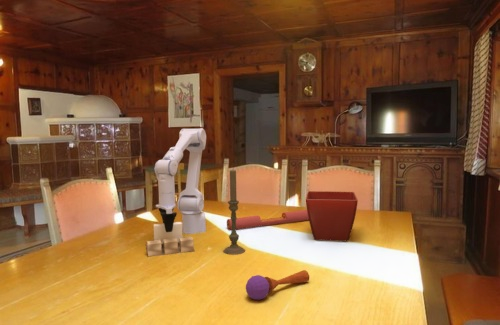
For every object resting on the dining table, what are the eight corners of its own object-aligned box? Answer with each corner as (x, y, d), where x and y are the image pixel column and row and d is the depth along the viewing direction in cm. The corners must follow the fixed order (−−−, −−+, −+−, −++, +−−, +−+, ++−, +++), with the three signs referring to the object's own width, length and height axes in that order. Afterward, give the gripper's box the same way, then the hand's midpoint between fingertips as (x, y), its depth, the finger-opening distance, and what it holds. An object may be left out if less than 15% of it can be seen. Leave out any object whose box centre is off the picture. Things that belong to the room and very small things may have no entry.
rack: (188, 242, 140) (188, 236, 140) (194, 253, 127) (194, 247, 127) (145, 247, 135) (145, 240, 135) (147, 259, 122) (147, 252, 122)
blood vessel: (230, 232, 155) (230, 220, 155) (226, 229, 160) (226, 217, 159) (313, 221, 172) (313, 210, 171) (307, 218, 176) (308, 208, 176)
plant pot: (307, 229, 157) (307, 190, 155) (353, 231, 153) (354, 191, 152) (305, 242, 138) (305, 198, 137) (357, 245, 134) (358, 200, 133)
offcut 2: (191, 247, 131) (191, 236, 131) (193, 250, 127) (193, 239, 127) (179, 248, 130) (179, 237, 129) (181, 252, 126) (180, 241, 125)
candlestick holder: (250, 250, 130) (249, 167, 127) (241, 259, 121) (240, 170, 118) (227, 248, 133) (225, 166, 130) (216, 256, 124) (215, 169, 121)
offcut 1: (160, 251, 128) (160, 239, 127) (161, 254, 124) (161, 243, 123) (147, 252, 126) (147, 241, 126) (148, 256, 122) (147, 244, 122)
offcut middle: (176, 249, 129) (176, 238, 129) (177, 252, 126) (177, 241, 125) (163, 250, 128) (163, 239, 128) (164, 254, 124) (164, 242, 124)
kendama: (314, 271, 100) (257, 285, 88) (310, 291, 101) (253, 306, 90) (300, 261, 105) (243, 273, 93) (296, 280, 106) (239, 293, 94)
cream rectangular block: (181, 242, 137) (181, 221, 136) (182, 244, 134) (182, 223, 133) (154, 245, 134) (153, 224, 133) (154, 248, 131) (154, 226, 130)
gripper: (154, 190, 138) (155, 225, 139) (156, 196, 124) (158, 235, 125) (172, 189, 140) (174, 223, 141) (177, 195, 126) (178, 233, 127)
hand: (167, 229), depth 133 cm, fingers open, 7 cm apart
